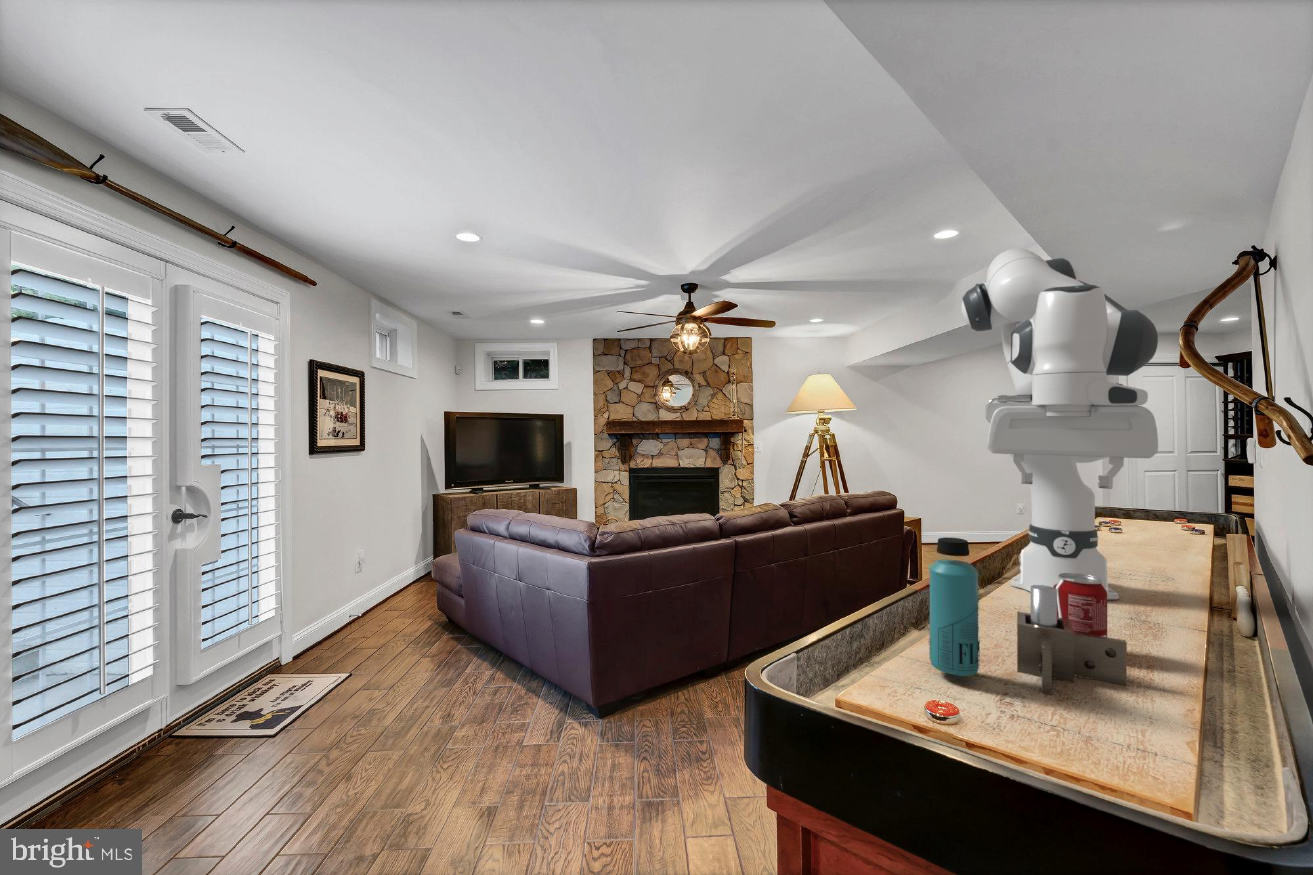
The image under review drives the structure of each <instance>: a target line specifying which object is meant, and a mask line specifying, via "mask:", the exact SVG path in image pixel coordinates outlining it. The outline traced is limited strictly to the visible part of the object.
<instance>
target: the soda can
mask: <svg viewBox="0 0 1313 875" xmlns="http://www.w3.org/2000/svg"><path fill="white" fill-rule="evenodd" d="M1058 577H1059V579H1058V580H1057V581H1056V582H1055V584H1054V586H1053V588H1056V589H1057V618H1064V619H1070V621H1071V625H1072V628H1073V632H1076V633H1082V634H1089V635H1095V636H1101V637H1108V599H1107V591H1106V590H1105V588H1104V587H1103V586H1102V584H1101V583H1102V580H1101V579H1100V578H1097V577H1094V576H1090V575H1085V574H1077V573H1061V574H1059V575H1058Z"/></svg>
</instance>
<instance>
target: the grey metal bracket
mask: <svg viewBox="0 0 1313 875" xmlns="http://www.w3.org/2000/svg"><path fill="white" fill-rule="evenodd" d="M1016 616H1017V617H1016V618H1017V619H1016V634H1017V635H1016V636H1017V638H1016V646H1017V648H1016V651H1017V653H1016V658H1017V659H1016V661H1017V663H1016V664H1017V668H1016V670H1017V672H1018V673H1023V674H1028V675H1032V676H1038V677H1040V681H1041V683H1040V684H1041V691H1042V694H1044V695H1049V696H1052V692H1053V690H1052V689H1053V687H1052V686H1053V683H1052V682H1053V679H1054V680H1057V681H1058V680H1059V681H1063V682H1069V683H1073V684H1074V682H1075V677H1078V678H1084V679H1090V680H1095V681H1099V682H1100V681H1101V682H1106V683H1111V684H1116V685H1120V686H1121V685H1122V686H1127V685H1128V684H1127V682H1128V681H1127V679H1128V678H1127V676H1128V675H1127V670H1128V668H1127V664H1128V663H1127V662H1128V661H1127V658H1128V657H1127V654H1128V652H1127V650H1128V649H1127V648H1128V643H1127V641H1126V640H1125V639H1121V638H1120V639H1119V638H1113V637H1108V636H1107V637H1101V636H1095V635H1089V634H1082V633H1076V632H1073V628H1072V625H1071V621H1070V619H1064V618H1057V628H1051V627H1044V626H1038V625H1032V624H1031V612H1022V611H1016Z"/></svg>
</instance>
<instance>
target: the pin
mask: <svg viewBox="0 0 1313 875" xmlns="http://www.w3.org/2000/svg"><path fill="white" fill-rule="evenodd" d="M1030 614H1031V624H1032V625H1038V626H1044V627H1051V628H1057V589H1056V588H1053V587H1050V586H1044V585H1032V586H1031V592H1030Z"/></svg>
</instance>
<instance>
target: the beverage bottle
mask: <svg viewBox="0 0 1313 875" xmlns="http://www.w3.org/2000/svg"><path fill="white" fill-rule="evenodd" d="M936 553H937V554H939V555H943V556H944V555H945V556H949V557H950V556H951V557H968V556H970V549H969V541H968V540H967V539H964V538H960V537H947V536H945V537H939V538H937V547H936ZM928 571H929V613H928V615H929V618H928V626H929V638H928V640H929V641H928V644H929V647H928V650H929V652H928V654H929V657H928V658H929V660H930V664H931V665H932V667H933V668H935V669H937V670H938V671H940V672H943V673H946V674H950V675H954V676H961V677H962V676H963V677H967V676H968V677H969V676H974V675H976V674H977V673H978V671H979V669H980V666H981V664H980V663H981V651H980V642H981V641H980V640H981V639H980V637H979V629H980V627H979V615H980V613H981V612H980V609H979V605H980V596H979V594H980V593H979V586H978V585H979V584H978V583H979V582H978V580H979V579H978V577H979V571H978V570H977V569H976V568H975V567H974V566H973V565H972V564H971V563H969V562H968V561H963V560H958V559H950V558H949V559H948V558H944V559H943V558H942V559H938V560H936V561H934V562H933V563H932V564H931V565H930V566H929V568H928Z"/></svg>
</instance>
